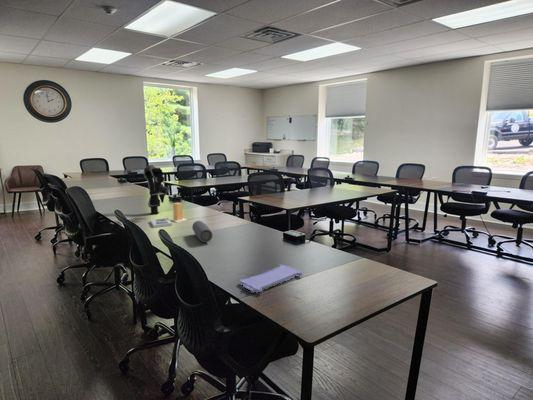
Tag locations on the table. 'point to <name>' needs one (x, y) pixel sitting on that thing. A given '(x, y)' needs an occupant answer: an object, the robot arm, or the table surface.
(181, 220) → the pad
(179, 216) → the module
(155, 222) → the dock
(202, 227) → the bluetooth speaker
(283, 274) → the light purple flat block
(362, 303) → the table surface
